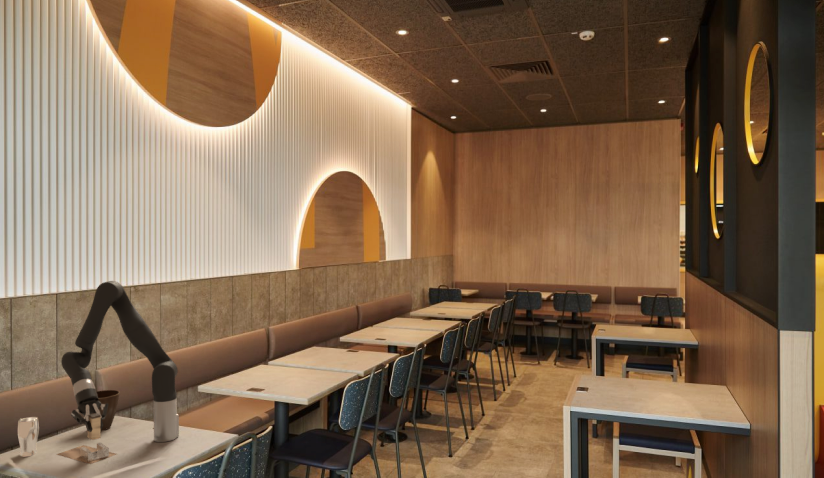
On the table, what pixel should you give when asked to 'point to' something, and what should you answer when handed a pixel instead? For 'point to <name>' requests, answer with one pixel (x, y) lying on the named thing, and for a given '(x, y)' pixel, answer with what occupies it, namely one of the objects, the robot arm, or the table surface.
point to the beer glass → (28, 435)
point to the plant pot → (112, 400)
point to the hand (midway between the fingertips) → (95, 429)
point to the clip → (95, 453)
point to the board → (76, 454)
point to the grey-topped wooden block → (94, 426)
